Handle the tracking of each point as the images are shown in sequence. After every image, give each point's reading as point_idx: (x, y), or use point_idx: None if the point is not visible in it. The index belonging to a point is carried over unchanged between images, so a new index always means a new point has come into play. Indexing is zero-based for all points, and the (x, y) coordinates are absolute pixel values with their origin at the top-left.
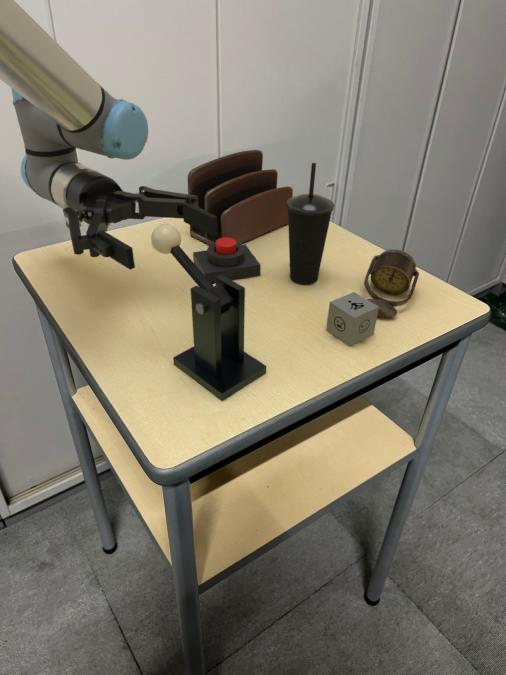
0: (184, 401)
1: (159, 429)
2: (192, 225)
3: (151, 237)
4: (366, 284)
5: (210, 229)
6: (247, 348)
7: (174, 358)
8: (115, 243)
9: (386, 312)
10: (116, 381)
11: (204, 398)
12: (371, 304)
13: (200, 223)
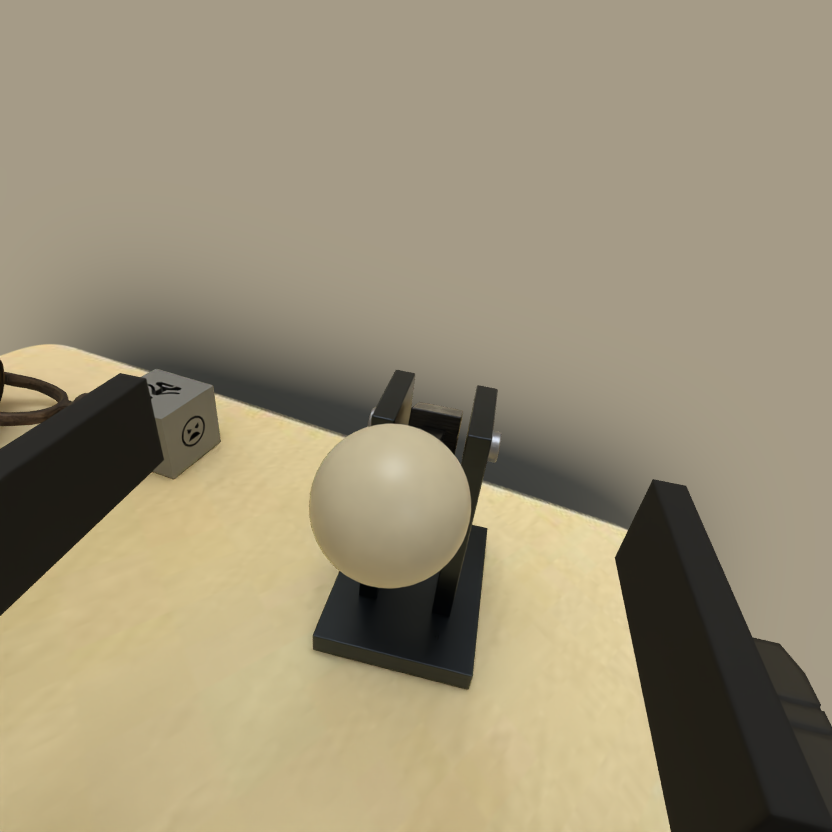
0: (537, 593)
1: (620, 590)
2: (28, 583)
3: (455, 532)
4: (8, 416)
5: (146, 447)
6: (309, 573)
7: (472, 671)
8: (720, 572)
9: None
10: (636, 788)
11: (502, 568)
12: (150, 376)
13: (84, 493)
